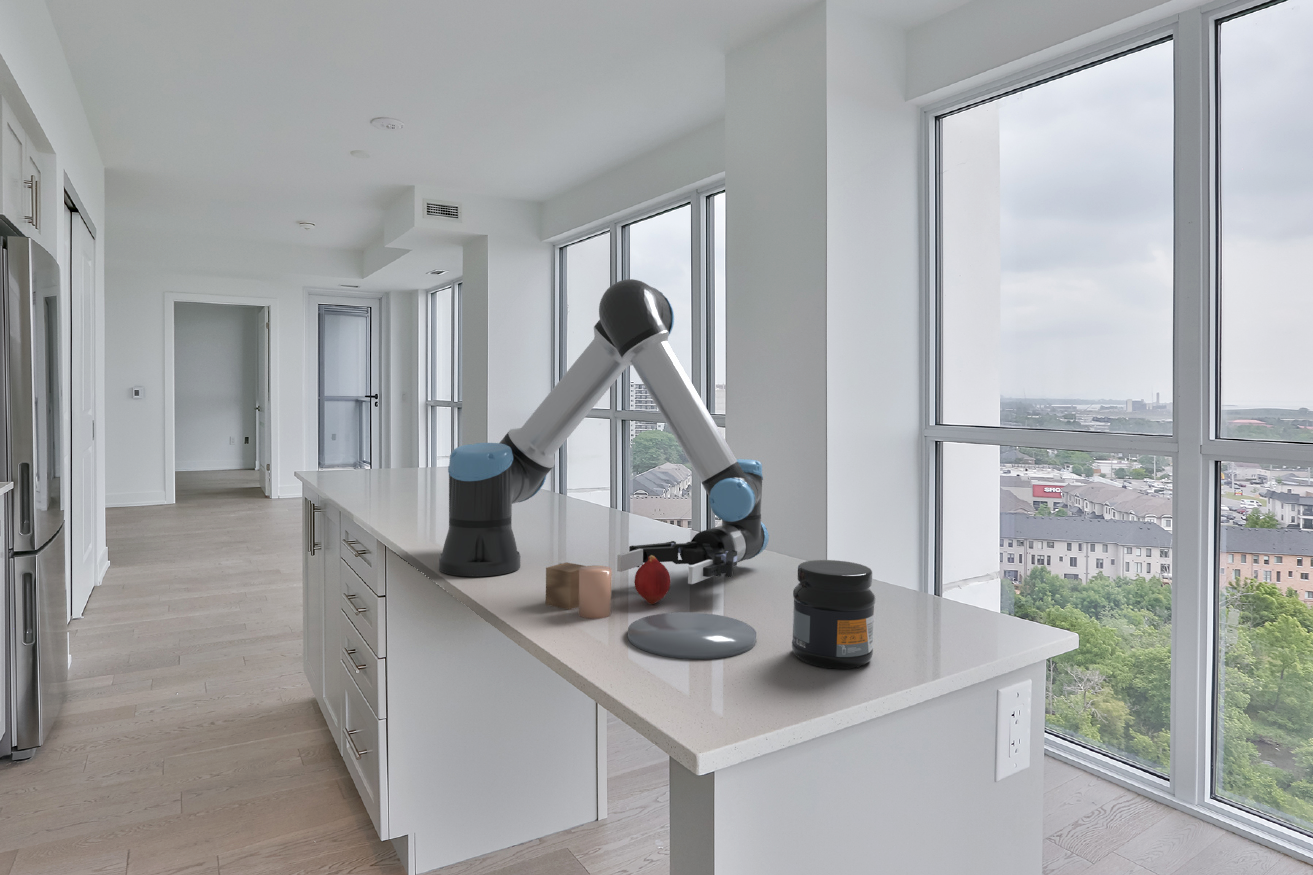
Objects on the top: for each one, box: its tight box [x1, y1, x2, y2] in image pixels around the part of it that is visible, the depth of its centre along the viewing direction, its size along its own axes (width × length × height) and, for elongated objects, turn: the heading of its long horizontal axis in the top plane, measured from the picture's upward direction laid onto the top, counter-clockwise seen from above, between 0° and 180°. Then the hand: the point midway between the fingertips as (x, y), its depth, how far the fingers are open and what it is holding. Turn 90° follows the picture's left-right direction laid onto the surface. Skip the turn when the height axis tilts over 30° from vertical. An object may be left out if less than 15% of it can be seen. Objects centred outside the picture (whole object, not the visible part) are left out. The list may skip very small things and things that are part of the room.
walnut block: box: [545, 562, 585, 611], centre depth 127 cm, size 5×5×6 cm
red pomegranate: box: [633, 555, 672, 605], centre depth 128 cm, size 6×6×8 cm
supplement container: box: [791, 559, 876, 670], centre depth 104 cm, size 10×10×12 cm
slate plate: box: [627, 611, 757, 660], centre depth 111 cm, size 18×18×1 cm
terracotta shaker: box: [577, 565, 613, 620], centre depth 122 cm, size 5×5×7 cm
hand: (653, 569), depth 127 cm, fingers open, 13 cm apart
